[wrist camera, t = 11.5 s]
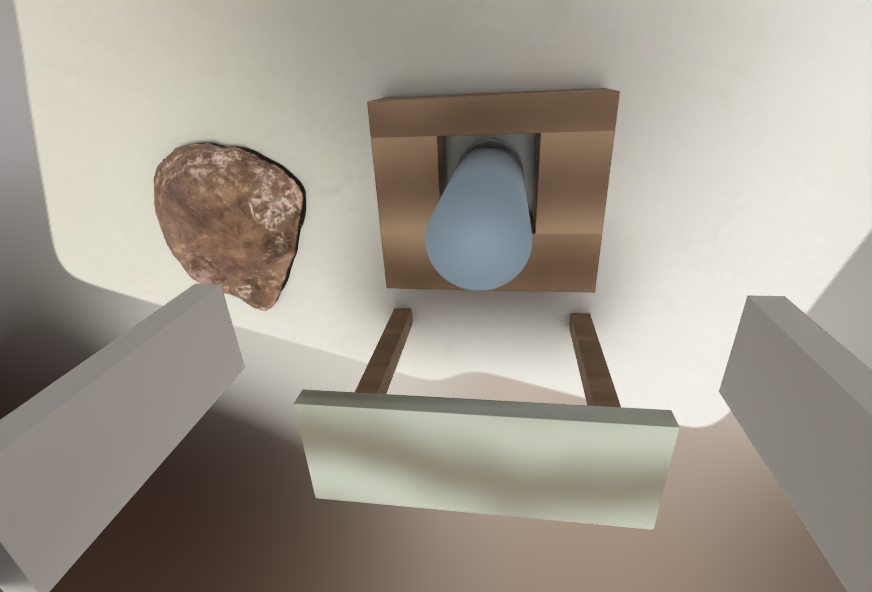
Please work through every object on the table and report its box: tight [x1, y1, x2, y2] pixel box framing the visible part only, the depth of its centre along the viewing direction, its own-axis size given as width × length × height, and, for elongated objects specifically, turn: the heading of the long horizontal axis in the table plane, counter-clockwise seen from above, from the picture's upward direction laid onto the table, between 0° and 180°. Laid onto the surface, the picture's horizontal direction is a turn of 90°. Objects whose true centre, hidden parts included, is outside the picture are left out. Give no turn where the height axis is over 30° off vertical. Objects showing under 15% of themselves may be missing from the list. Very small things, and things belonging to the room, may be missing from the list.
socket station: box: [294, 88, 679, 529], centre depth 25 cm, size 18×16×17 cm
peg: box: [425, 139, 532, 291], centre depth 25 cm, size 4×4×14 cm
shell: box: [154, 143, 306, 311], centre depth 34 cm, size 12×13×4 cm
